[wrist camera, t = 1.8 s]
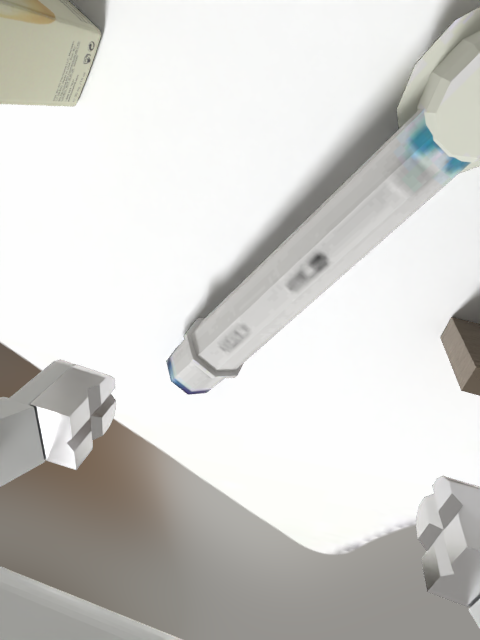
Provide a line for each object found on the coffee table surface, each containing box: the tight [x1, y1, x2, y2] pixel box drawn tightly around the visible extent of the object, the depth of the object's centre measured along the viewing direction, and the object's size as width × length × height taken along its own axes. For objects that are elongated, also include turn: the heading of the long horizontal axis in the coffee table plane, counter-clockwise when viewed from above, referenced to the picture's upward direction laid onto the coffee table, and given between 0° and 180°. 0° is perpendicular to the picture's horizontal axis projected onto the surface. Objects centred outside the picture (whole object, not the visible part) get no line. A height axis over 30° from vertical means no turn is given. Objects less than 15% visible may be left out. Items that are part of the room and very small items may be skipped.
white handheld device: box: [166, 7, 480, 394], centre depth 20 cm, size 5×7×25 cm
